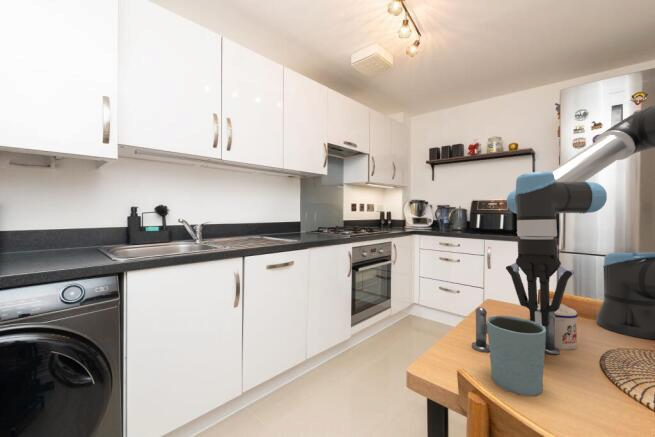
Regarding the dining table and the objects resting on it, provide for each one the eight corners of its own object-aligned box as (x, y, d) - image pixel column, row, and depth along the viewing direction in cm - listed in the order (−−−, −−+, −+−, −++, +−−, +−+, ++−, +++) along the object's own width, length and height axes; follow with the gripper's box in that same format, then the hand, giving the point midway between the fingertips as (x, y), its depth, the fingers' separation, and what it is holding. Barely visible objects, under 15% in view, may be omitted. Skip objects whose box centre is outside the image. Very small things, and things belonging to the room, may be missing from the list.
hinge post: (552, 347, 72) (551, 306, 72) (564, 355, 68) (564, 312, 68) (533, 346, 73) (533, 306, 73) (545, 354, 68) (545, 311, 68)
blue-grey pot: (519, 402, 51) (519, 336, 51) (475, 372, 60) (475, 317, 60) (559, 392, 53) (559, 330, 53) (511, 365, 63) (511, 312, 63)
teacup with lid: (571, 354, 68) (571, 306, 68) (528, 340, 76) (528, 298, 76) (586, 342, 75) (586, 298, 75) (545, 330, 83) (545, 291, 83)
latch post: (489, 344, 74) (489, 304, 74) (497, 352, 69) (497, 310, 69) (468, 343, 74) (468, 304, 74) (475, 351, 70) (475, 309, 70)
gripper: (574, 238, 64) (579, 343, 63) (511, 237, 73) (514, 328, 72) (568, 239, 59) (572, 352, 58) (501, 238, 68) (504, 335, 68)
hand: (540, 339), depth 65 cm, fingers closed
